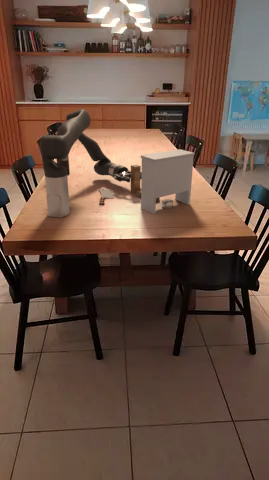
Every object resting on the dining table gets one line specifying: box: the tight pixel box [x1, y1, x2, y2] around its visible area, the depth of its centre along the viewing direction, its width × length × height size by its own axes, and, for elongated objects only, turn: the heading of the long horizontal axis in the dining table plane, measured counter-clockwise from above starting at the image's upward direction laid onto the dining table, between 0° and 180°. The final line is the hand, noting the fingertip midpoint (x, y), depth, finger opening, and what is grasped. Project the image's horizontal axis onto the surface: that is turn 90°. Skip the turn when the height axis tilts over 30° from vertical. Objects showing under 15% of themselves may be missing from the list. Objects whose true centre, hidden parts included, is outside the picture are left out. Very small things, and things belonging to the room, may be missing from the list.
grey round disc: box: [161, 198, 174, 210], centre depth 166 cm, size 5×5×3 cm
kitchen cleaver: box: [97, 188, 115, 206], centre depth 178 cm, size 24×1×10 cm
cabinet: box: [140, 149, 196, 215], centre depth 162 cm, size 10×23×24 cm, turn 126°
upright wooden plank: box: [130, 164, 161, 203], centre depth 176 cm, size 18×4×14 cm, turn 36°
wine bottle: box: [56, 121, 71, 176], centre depth 209 cm, size 7×7×30 cm
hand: (136, 179), depth 181 cm, fingers open, 8 cm apart
